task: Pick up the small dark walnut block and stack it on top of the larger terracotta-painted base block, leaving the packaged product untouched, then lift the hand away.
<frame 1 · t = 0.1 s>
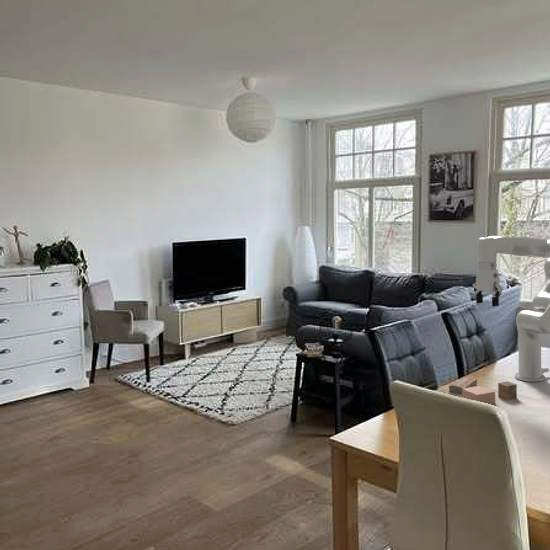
hand: (487, 304, 241), 37 cm above the table, tool pointing down, fingers open, 9 cm apart
walnut block: (507, 397, 228), on the table
base block: (478, 402, 224), on the table
packaged product: (462, 392, 240), on the table
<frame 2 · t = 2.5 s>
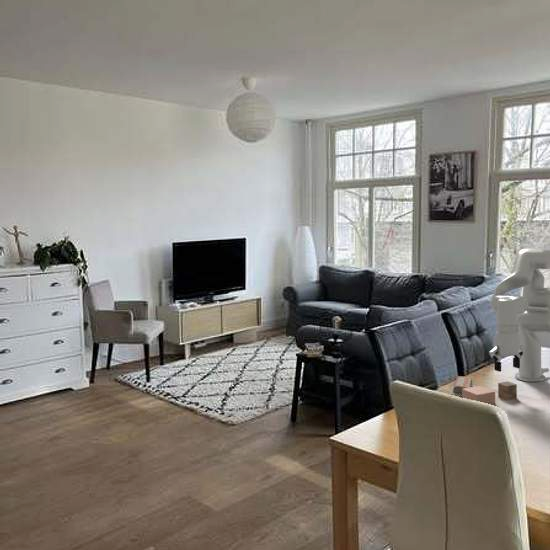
hand: (507, 369, 227), 12 cm above the table, tool pointing down, fingers open, 9 cm apart
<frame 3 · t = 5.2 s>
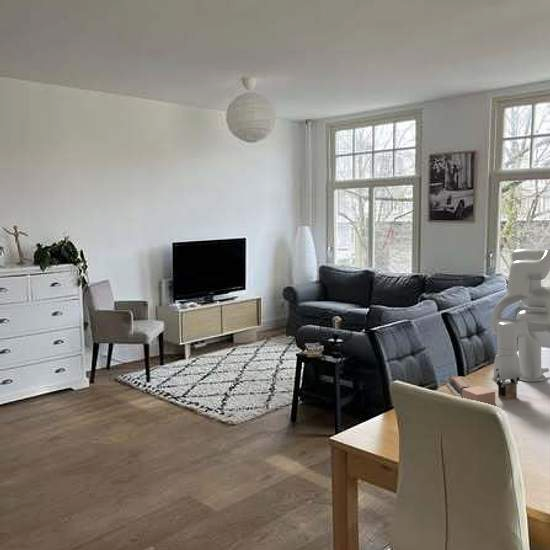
hand: (507, 394, 228), 1 cm above the table, tool pointing down, fingers closed on walnut block, 5 cm apart
walnut block: (507, 397, 228), on the table, touching gripper
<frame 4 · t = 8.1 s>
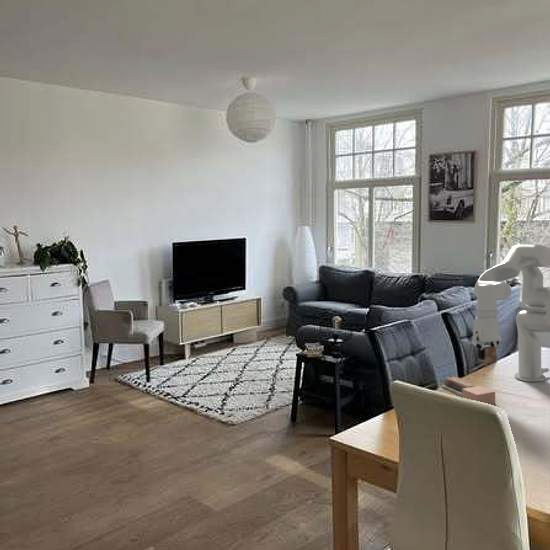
hand: (486, 357, 224), 18 cm above the table, tool pointing down, fingers closed on walnut block, 5 cm apart
walnut block: (487, 361, 224), point 17 cm above the table, touching gripper
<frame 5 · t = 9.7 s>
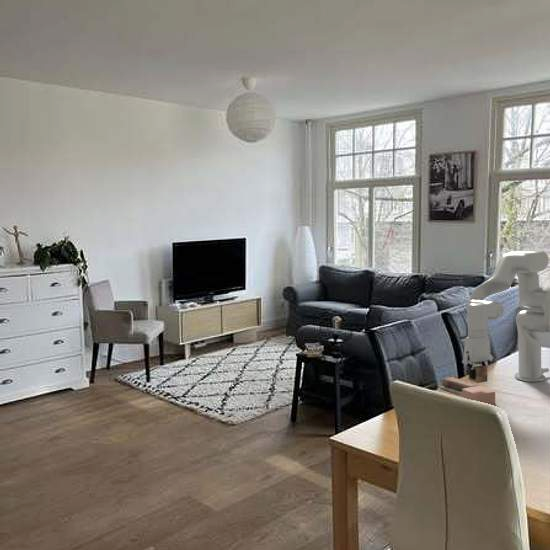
hand: (478, 377, 223), 11 cm above the table, tool pointing down, fingers closed on walnut block, 5 cm apart
walnut block: (478, 380, 223), point 9 cm above the table, touching gripper
when the fingers open (8 cm above the table, at t = 11.0 s): walnut block drops 1 cm, resting on base block.
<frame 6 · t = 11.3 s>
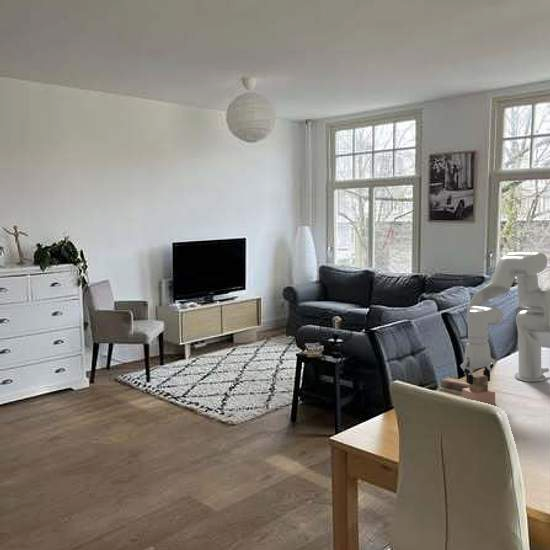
hand: (478, 381, 224), 8 cm above the table, tool pointing down, fingers open, 8 cm apart
walnut block: (478, 390, 224), point 5 cm above the table, touching base block
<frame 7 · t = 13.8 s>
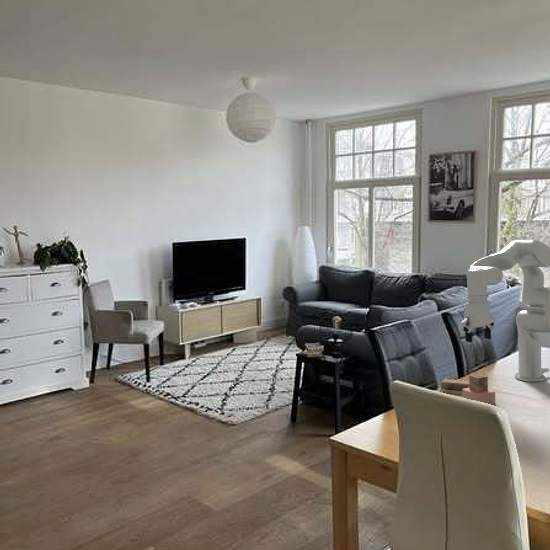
hand: (478, 340, 225), 25 cm above the table, tool pointing down, fingers open, 9 cm apart
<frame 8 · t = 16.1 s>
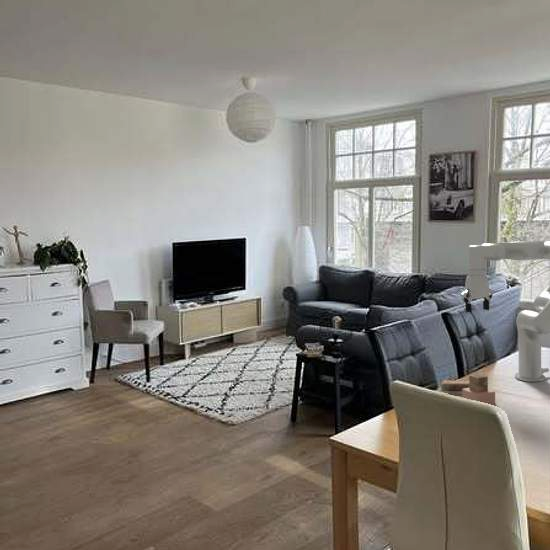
hand: (477, 310, 246), 33 cm above the table, tool pointing down, fingers open, 9 cm apart
at the end: walnut block 0.1 cm off-centre on the base block, point 5.0 cm above the base block's base; walnut block tilted 0°; the gripper is holding nothing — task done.
